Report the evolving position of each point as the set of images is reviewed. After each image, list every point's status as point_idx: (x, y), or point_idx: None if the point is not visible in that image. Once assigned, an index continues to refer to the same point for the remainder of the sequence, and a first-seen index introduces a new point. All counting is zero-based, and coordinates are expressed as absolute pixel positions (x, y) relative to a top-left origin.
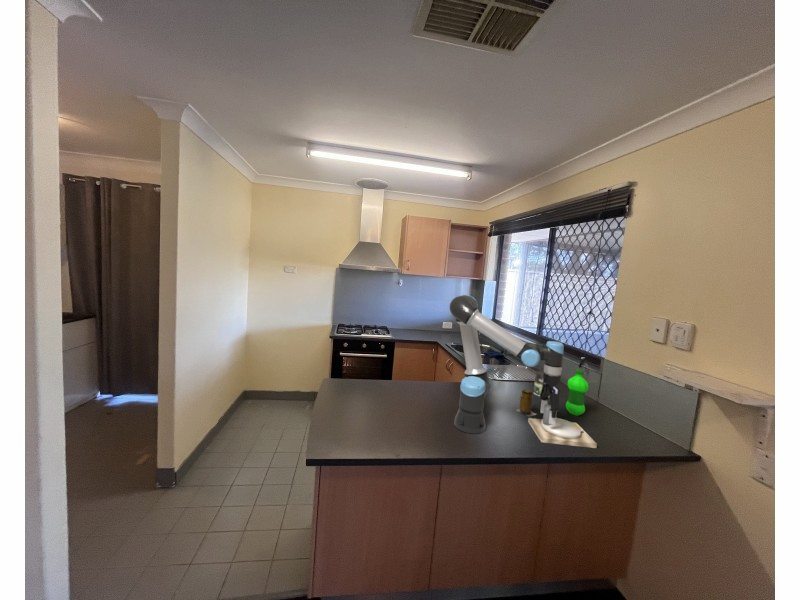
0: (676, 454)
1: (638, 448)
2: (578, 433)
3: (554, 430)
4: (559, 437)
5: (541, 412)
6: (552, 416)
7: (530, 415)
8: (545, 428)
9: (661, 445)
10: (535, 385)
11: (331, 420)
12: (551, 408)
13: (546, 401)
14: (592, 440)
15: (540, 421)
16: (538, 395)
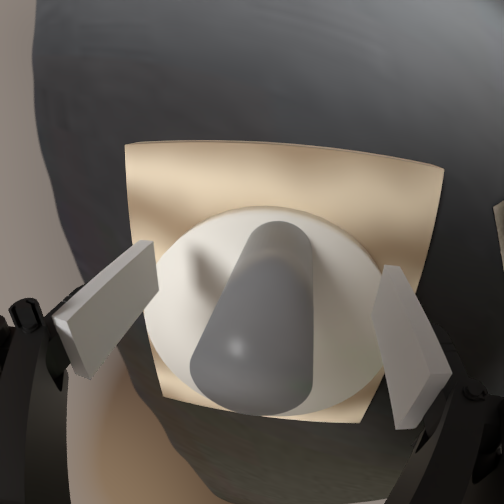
0: (210, 489)
1: (214, 465)
2: (179, 378)
3: (169, 261)
4: None
5: (383, 273)
6: (76, 290)
7: (501, 230)
8: (224, 214)
9: (246, 494)
10: None
11: None
12: (30, 335)
13: (400, 412)
14: (187, 399)
15: (391, 244)
16: None
